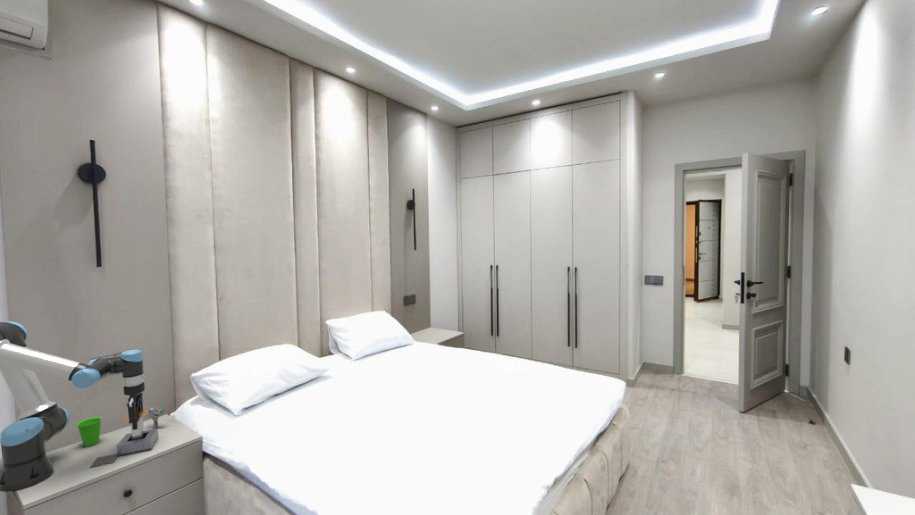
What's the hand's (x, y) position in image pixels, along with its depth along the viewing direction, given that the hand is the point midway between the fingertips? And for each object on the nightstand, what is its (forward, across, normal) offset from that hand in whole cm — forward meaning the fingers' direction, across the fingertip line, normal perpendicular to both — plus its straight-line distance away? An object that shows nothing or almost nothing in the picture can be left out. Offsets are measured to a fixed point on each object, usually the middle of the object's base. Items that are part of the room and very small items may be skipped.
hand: (137, 433), depth 183 cm
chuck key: (+4, 0, 0) cm, 4 cm away
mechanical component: (+7, +20, -2) cm, 21 cm away
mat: (+7, -7, +10) cm, 14 cm away
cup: (+7, +15, +22) cm, 27 cm away
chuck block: (+7, 0, 0) cm, 7 cm away
